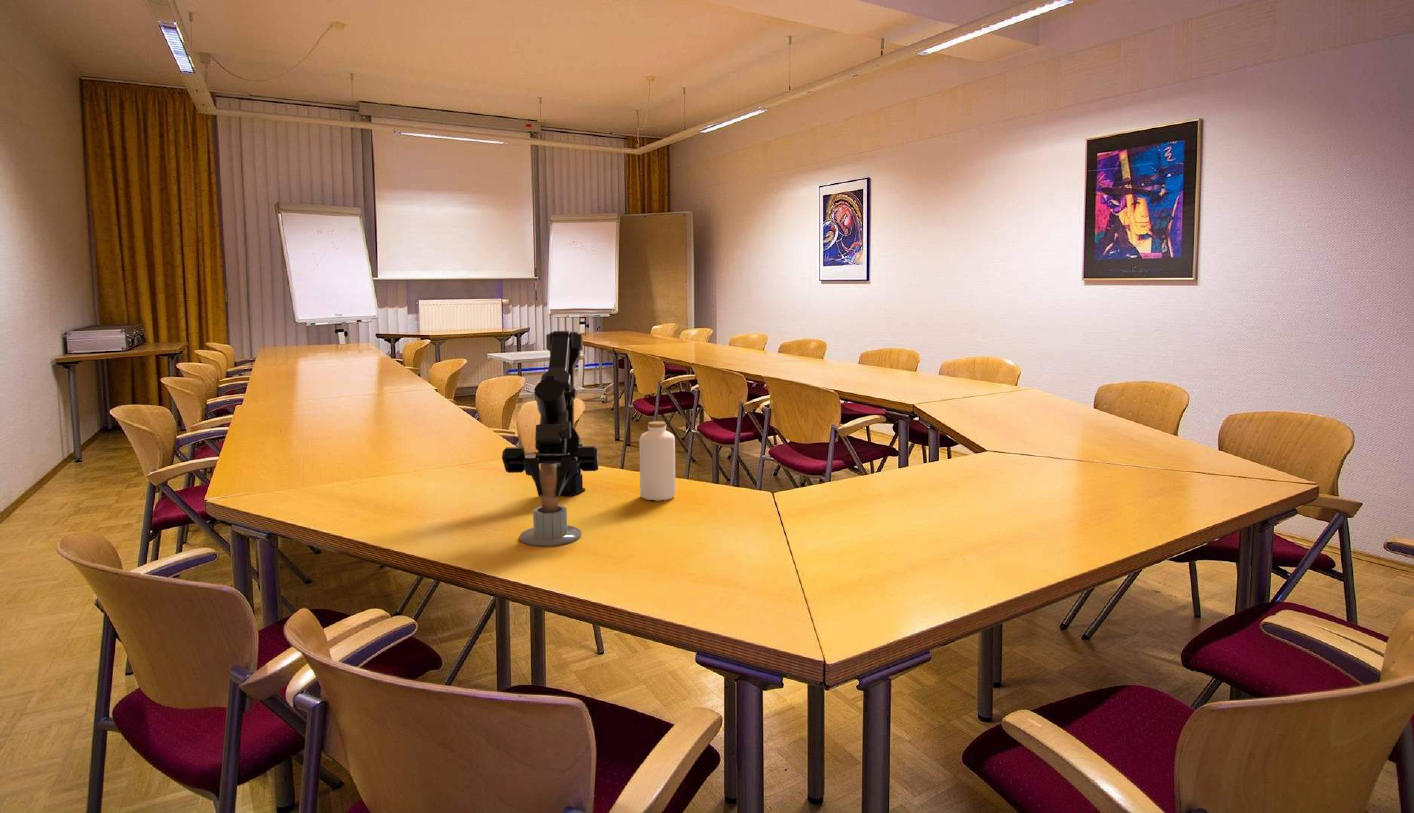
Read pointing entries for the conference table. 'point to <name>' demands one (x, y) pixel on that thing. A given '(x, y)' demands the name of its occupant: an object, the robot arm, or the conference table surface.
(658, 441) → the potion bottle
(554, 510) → the brown wooden dowel
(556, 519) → the grey flared collar base
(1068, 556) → the conference table surface
